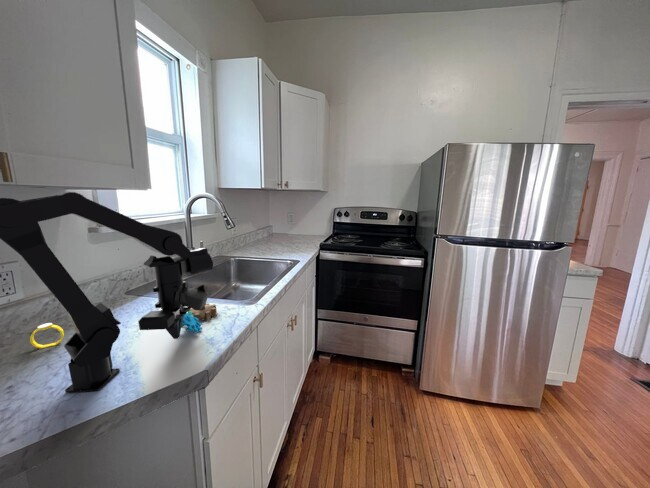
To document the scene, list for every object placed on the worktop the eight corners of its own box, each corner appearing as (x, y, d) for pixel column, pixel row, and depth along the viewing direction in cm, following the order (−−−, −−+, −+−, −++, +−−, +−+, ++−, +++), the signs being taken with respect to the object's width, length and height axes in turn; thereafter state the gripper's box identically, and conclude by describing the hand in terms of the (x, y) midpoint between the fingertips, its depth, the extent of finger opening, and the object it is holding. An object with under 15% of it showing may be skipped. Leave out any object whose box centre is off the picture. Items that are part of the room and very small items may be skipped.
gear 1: (199, 333, 72) (168, 310, 70) (183, 351, 71) (151, 328, 69) (207, 320, 82) (180, 300, 80) (193, 335, 82) (166, 315, 80)
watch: (32, 353, 67) (25, 331, 65) (36, 348, 69) (29, 327, 68) (64, 343, 70) (58, 323, 69) (67, 339, 72) (60, 319, 71)
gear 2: (211, 321, 82) (209, 301, 81) (183, 322, 81) (180, 302, 80) (220, 309, 90) (219, 291, 89) (194, 310, 90) (192, 292, 89)
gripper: (186, 292, 57) (193, 358, 60) (215, 269, 76) (219, 320, 78) (132, 294, 57) (142, 360, 59) (175, 270, 75) (181, 322, 78)
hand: (176, 338), depth 69 cm, fingers closed
